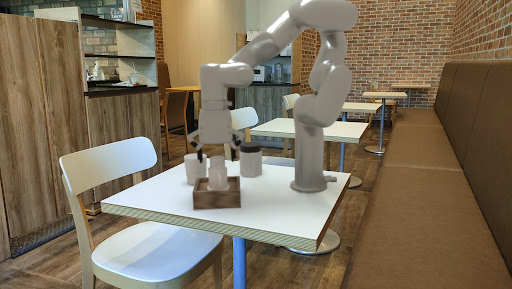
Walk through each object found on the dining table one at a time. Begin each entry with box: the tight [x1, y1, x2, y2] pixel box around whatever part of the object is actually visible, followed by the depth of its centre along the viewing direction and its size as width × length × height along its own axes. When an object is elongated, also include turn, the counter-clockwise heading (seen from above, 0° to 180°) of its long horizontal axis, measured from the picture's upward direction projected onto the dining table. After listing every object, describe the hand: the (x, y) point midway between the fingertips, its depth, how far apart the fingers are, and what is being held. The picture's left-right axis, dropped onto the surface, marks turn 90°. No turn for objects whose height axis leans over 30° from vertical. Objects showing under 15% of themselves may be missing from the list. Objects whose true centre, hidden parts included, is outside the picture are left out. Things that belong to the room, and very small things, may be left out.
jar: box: [238, 141, 263, 179], centre depth 138 cm, size 9×8×12 cm
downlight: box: [207, 155, 230, 190], centre depth 111 cm, size 8×7×10 cm
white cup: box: [183, 152, 208, 187], centre depth 129 cm, size 8×8×10 cm
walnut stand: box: [191, 175, 242, 211], centre depth 112 cm, size 14×14×6 cm
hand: (217, 161), depth 110 cm, fingers open, 9 cm apart
